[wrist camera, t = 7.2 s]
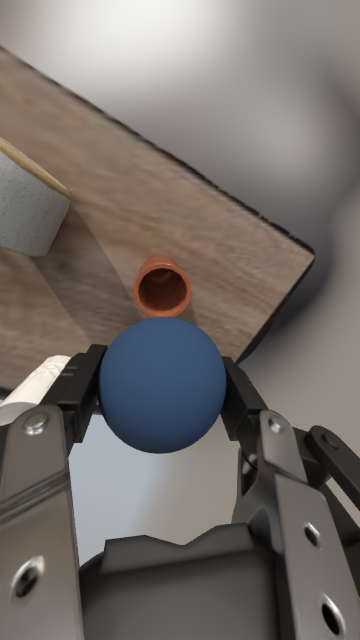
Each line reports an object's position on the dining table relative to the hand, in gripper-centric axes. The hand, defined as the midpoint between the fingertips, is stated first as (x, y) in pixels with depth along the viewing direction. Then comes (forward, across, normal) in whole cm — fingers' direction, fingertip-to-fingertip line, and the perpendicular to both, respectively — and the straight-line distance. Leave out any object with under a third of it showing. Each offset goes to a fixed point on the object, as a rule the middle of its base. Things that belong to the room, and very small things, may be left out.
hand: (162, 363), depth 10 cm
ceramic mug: (+19, +17, -7) cm, 26 cm away
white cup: (+19, +15, +19) cm, 31 cm away
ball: (-1, 0, 0) cm, 1 cm away
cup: (+19, 0, -1) cm, 19 cm away
